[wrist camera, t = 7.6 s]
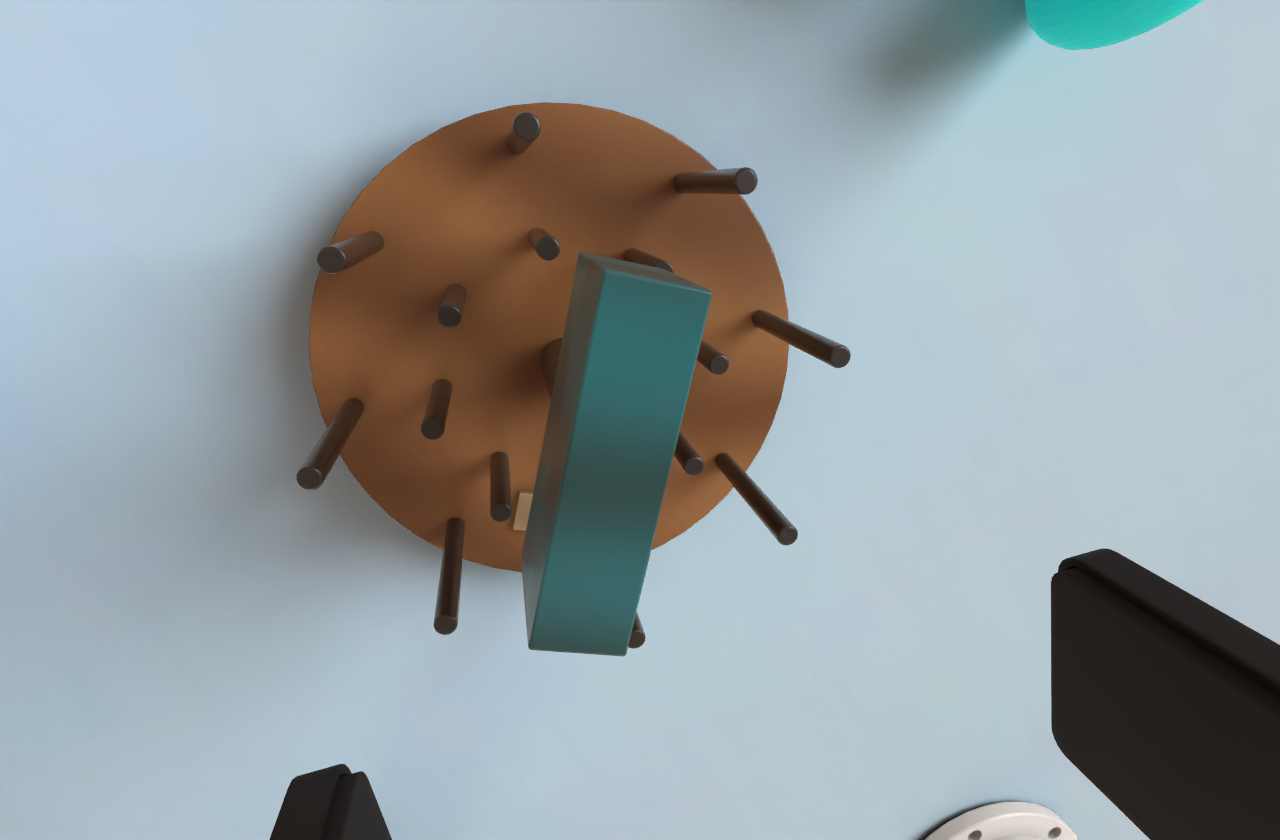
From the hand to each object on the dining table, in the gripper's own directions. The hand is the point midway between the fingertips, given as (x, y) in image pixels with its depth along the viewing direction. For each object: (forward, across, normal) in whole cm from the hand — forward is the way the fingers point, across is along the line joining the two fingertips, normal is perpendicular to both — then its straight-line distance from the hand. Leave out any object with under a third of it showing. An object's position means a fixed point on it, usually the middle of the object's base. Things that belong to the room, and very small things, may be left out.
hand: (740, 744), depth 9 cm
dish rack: (+20, 0, -1) cm, 20 cm away
